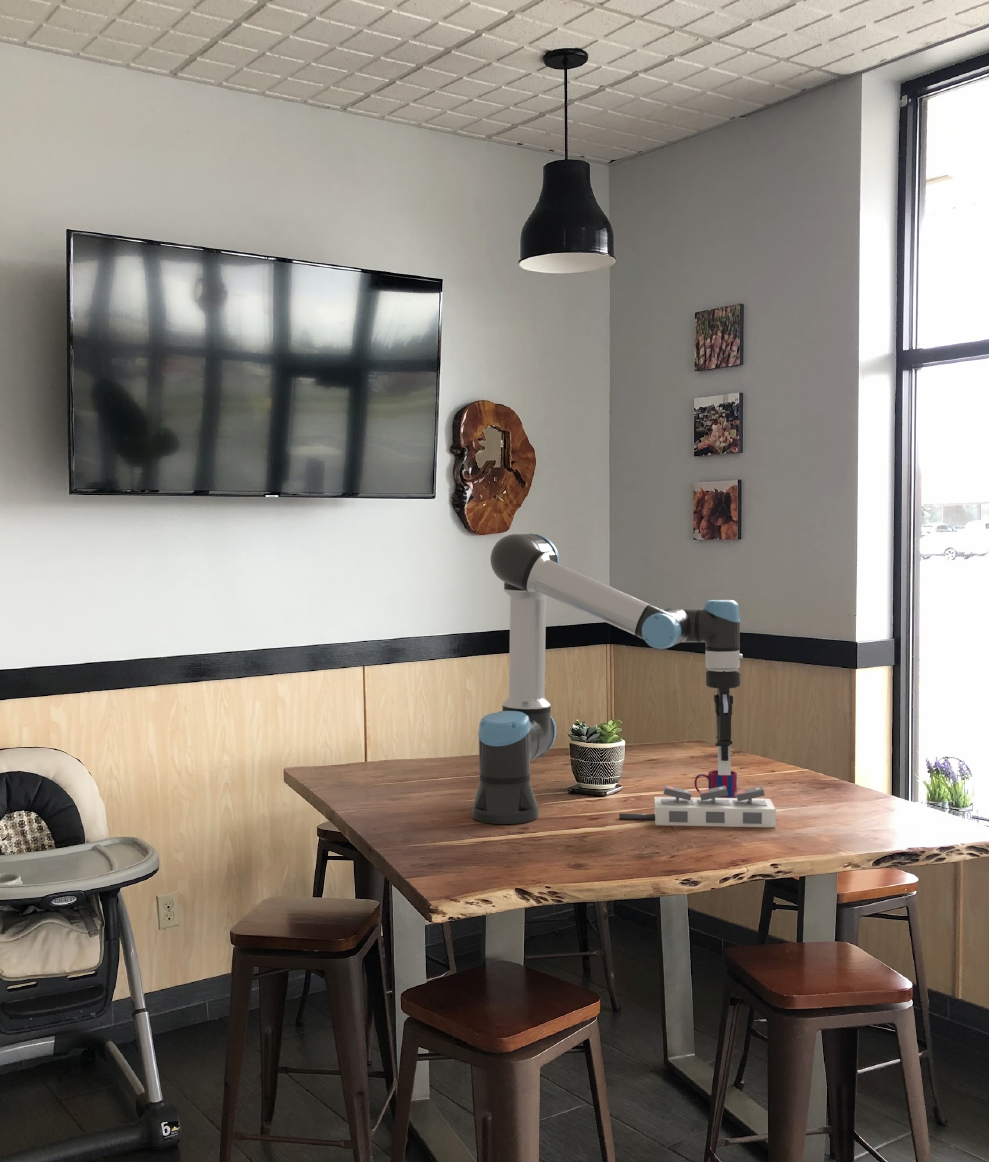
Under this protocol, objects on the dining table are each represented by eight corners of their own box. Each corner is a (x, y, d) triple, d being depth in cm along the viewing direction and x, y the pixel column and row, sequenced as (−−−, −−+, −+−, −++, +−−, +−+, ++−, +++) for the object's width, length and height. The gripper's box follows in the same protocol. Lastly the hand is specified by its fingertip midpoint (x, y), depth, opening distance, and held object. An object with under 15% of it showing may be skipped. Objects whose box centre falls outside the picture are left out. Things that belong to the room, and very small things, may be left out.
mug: (736, 804, 267) (736, 775, 267) (693, 802, 269) (693, 774, 269) (737, 798, 274) (737, 770, 273) (695, 796, 276) (695, 768, 276)
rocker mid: (701, 800, 250) (699, 794, 250) (700, 797, 254) (698, 790, 254) (728, 795, 250) (726, 788, 250) (726, 791, 253) (725, 785, 253)
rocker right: (738, 801, 249) (736, 795, 249) (736, 797, 253) (734, 791, 253) (764, 795, 249) (763, 789, 249) (762, 792, 252) (761, 785, 252)
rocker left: (663, 794, 251) (665, 787, 251) (663, 790, 255) (664, 784, 255) (690, 800, 251) (691, 794, 250) (689, 796, 254) (690, 790, 254)
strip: (619, 824, 249) (618, 800, 249) (619, 813, 259) (619, 790, 259) (775, 827, 245) (775, 803, 245) (769, 816, 255) (769, 793, 255)
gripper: (743, 672, 243) (744, 780, 244) (737, 665, 256) (738, 768, 257) (707, 672, 244) (709, 780, 245) (703, 666, 257) (705, 768, 258)
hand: (724, 774), depth 251 cm, fingers closed
